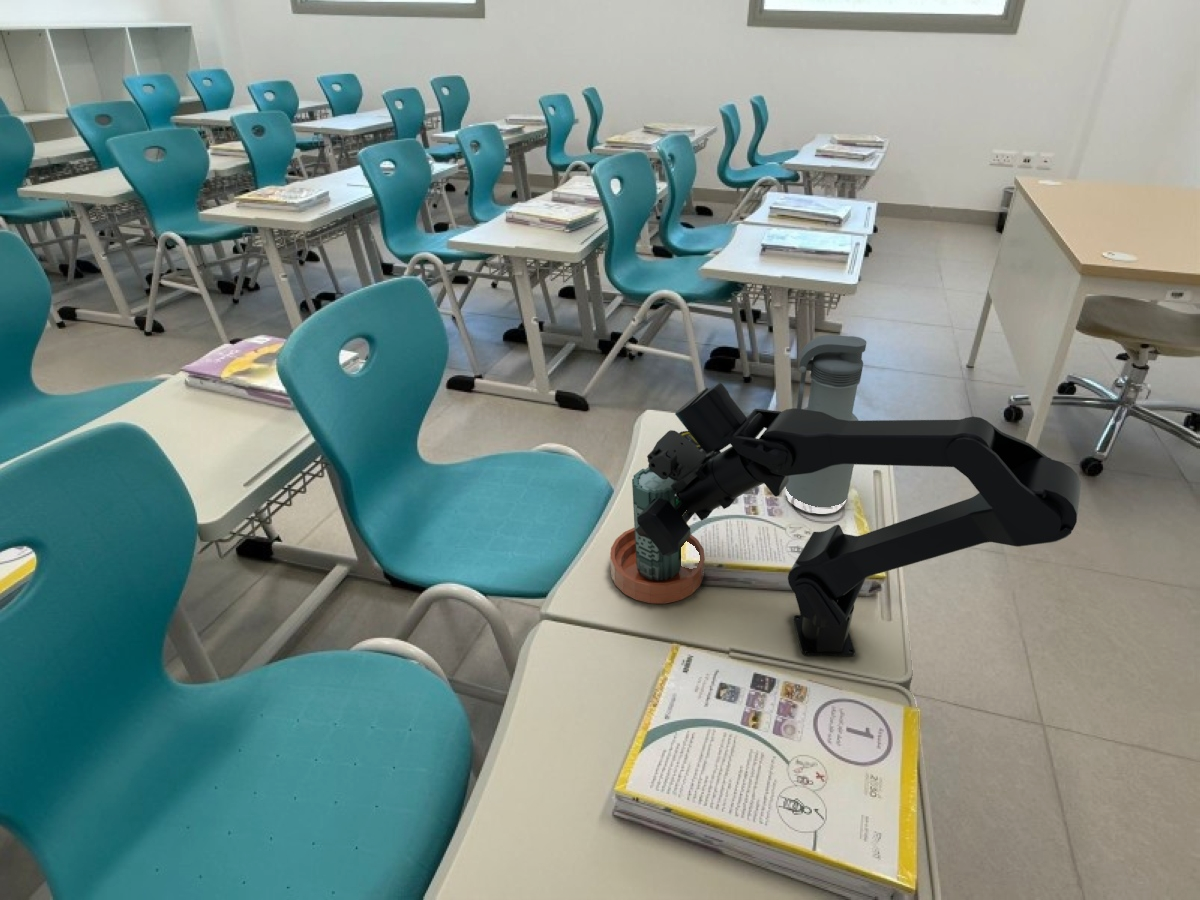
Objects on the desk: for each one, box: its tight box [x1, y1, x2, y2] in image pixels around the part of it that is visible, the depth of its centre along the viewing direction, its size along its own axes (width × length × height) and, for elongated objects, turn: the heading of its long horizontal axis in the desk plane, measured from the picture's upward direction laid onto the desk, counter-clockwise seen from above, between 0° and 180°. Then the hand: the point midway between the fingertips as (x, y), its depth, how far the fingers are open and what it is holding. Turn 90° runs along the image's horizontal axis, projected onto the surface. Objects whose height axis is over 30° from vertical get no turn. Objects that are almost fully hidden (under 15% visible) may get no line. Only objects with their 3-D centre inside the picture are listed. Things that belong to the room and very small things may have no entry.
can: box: [631, 466, 681, 581], centre depth 99 cm, size 6×6×15 cm
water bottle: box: [785, 334, 868, 507], centre depth 110 cm, size 10×10×28 cm
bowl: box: [610, 526, 706, 604], centre depth 103 cm, size 13×13×4 cm
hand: (649, 519), depth 99 cm, fingers closed on can, 6 cm apart
